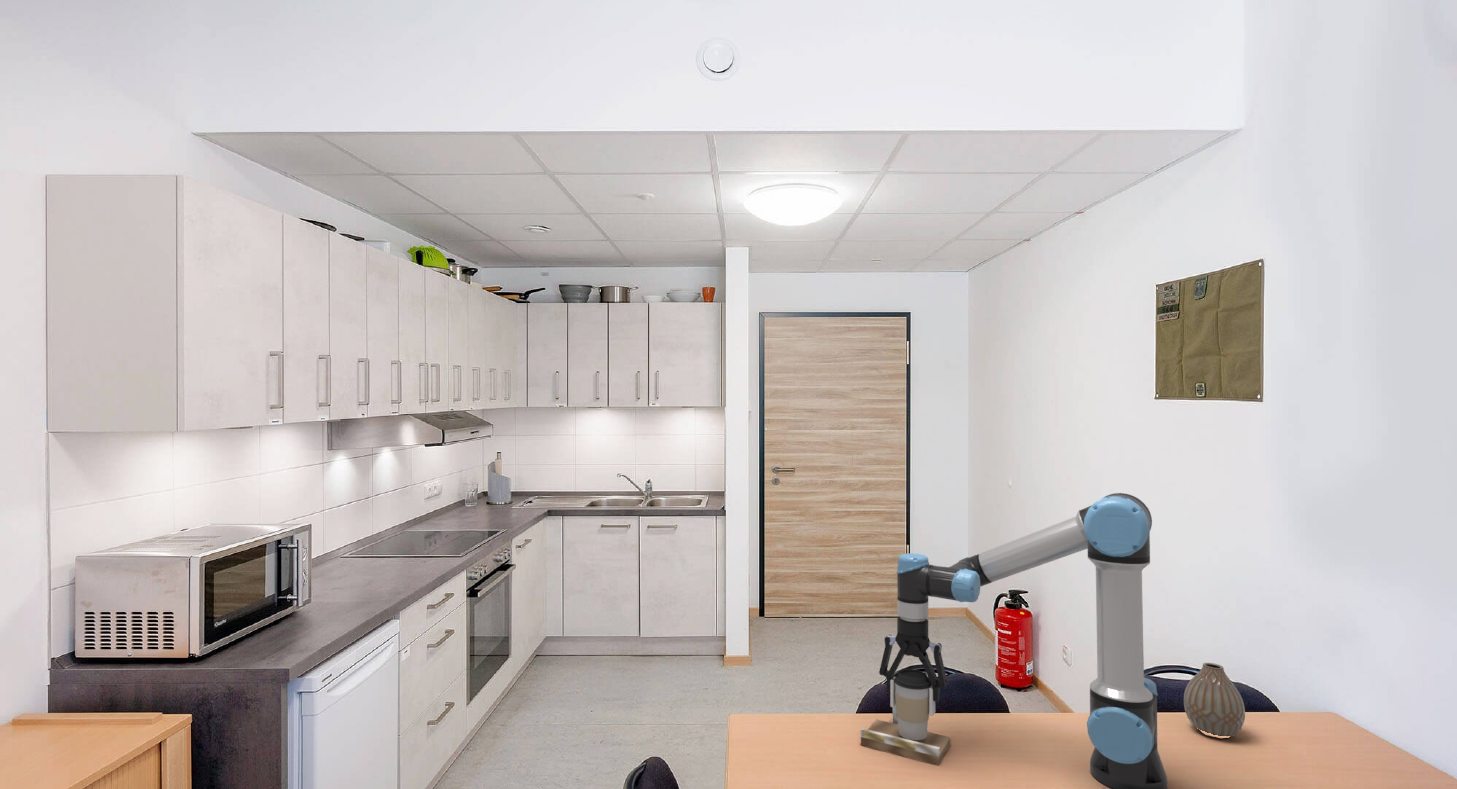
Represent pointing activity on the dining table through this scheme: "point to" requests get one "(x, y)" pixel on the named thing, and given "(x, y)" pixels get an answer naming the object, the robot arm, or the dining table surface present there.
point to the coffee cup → (912, 703)
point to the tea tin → (895, 715)
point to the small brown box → (905, 743)
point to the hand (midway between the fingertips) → (912, 709)
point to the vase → (1214, 702)
